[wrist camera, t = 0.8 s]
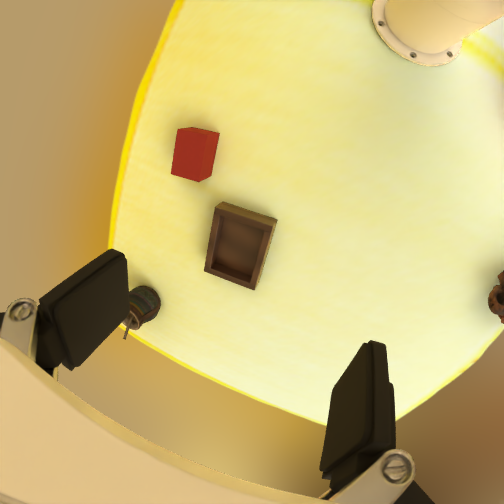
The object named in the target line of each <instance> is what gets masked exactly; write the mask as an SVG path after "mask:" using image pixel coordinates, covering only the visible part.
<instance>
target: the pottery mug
mask: <svg viewBox="0 0 504 504" xmlns="http://www.w3.org/2000/svg"><path fill="white" fill-rule="evenodd" d="M498 279H499V282H500V285H496V286H494V288H493V290H492V291H491V293H490V294H489V297H488V305H489V308H490V310H491V312H492V313H494V314H497V315H498V316H499V317H500V319H501V323H503V324H504V271H503V272H502V273H500V274H499V275H498Z"/></svg>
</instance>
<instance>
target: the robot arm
mask: <svg viewBox="0 0 504 504" xmlns="http://www.w3.org/2000/svg"><path fill="white" fill-rule="evenodd" d="M503 15H504V0H374V2H373V5H372V19H373V23H374V26H375V28H376V30H377V32H378V34H379V35H380V37H381V38H382V40H383V41H384V42H385V43H386V44H387V45H388V46H389V47H390V48H391V49H392V50H393V51H395V52H396V53H397V54H399V55H400V56H402V57H403V58H405V59H407V60H409V61H411V62H414V63H417V64H420V65H425V66H439V65H444V64H446V63H448V62H450V61H452V60H453V59H454V58H455V57H456V56H457V55H458V54H459V52H460V49H461V47H462V40H463V39H464V38H466V37H468V36H469V35H471V34H473V33H474V32H476V31H478V30H480V29H481V28H483V27H485V26H487V25H489V24H490V23H492V22H494V21H496V20H497V19H499V18H501V17H502V16H503ZM379 24H381V25H382V26H379ZM447 54H448V55H449V56H448V55H447ZM410 55H413V58H412V57H411V56H410ZM39 302H40V305H38V306H37V305H36V302H35V301H34V300H32V299H30V298H20V299H17V300H15V301H14V302H12V303H11V304H10V305H9V306H8V308H7V310H6V312H3V313H0V504H435V503H434V502H433V501H432V500H431V499H430V498H429V497H428V496H427V495H426V493H425V492H424V491H423V490H422V489H421V488H420V487H419V486H418V485H417V483H416V482H415V481H414V480H413V479H414V477H415V473H416V465H415V462H414V459H413V458H412V457H411V456H410V454H408V453H407V452H405V451H403V450H400V449H396V433H395V431H396V427H395V401H394V388H393V384H392V383H390V382H389V374H388V362H387V351H386V345H385V344H383V343H379V342H376V341H372V340H370V341H369V342H368V343H363V344H362V346H361V347H360V349H359V351H358V352H357V354H356V355H355V357H354V358H353V360H352V361H351V363H350V364H349V366H348V367H347V369H346V370H345V372H344V373H343V375H342V376H341V377H340V379H339V380H338V382H337V383H336V385H335V386H334V388H333V390H332V394H331V401H330V409H329V415H328V422H327V428H326V435H325V440H324V446H323V452H322V457H321V462H320V471H323V475H322V479H328V480H331V481H330V488H331V489H329V490H328V491H327V492H325V493H324V494H323V495H321V496H320V497H318V498H313V497H309V496H304V495H299V494H295V493H290V492H286V491H282V490H278V489H273V488H270V487H267V486H263V485H259V484H256V483H253V482H249V481H246V480H243V479H239V478H236V477H233V476H230V475H227V474H225V473H222V472H219V471H216V470H213V469H211V468H208V467H206V466H203V465H201V464H198V463H196V462H193V461H191V460H189V459H186V458H184V457H182V456H179V455H177V454H175V453H173V452H171V451H169V450H166V449H164V448H162V447H160V446H158V445H156V444H154V443H152V442H150V441H149V440H146V439H145V438H143V437H141V436H139V435H137V434H136V433H134V432H132V431H130V430H128V429H127V428H125V427H123V426H122V425H120V424H118V423H117V422H115V421H113V420H112V419H110V418H109V417H107V416H105V415H104V414H102V413H101V412H99V411H98V410H96V409H95V408H93V407H92V406H90V405H89V404H87V403H86V402H84V401H83V400H82V399H80V398H79V397H77V396H76V395H75V394H73V393H72V392H71V391H69V390H68V389H67V388H65V387H64V386H63V385H61V384H60V383H59V382H58V366H59V364H60V363H61V362H62V364H63V365H64V366H65V367H66V368H68V369H69V370H71V371H72V370H73V369H74V368H75V367H78V366H80V365H81V364H82V363H83V362H84V361H85V360H86V359H87V358H88V357H89V356H90V355H91V354H92V353H93V352H94V350H95V349H96V348H97V347H98V346H99V345H100V344H101V343H102V342H103V341H104V340H105V339H106V338H107V337H108V336H109V335H110V334H111V333H112V332H113V331H114V330H115V329H116V328H117V327H118V326H119V325H120V324H121V323H122V322H123V321H124V320H125V319H126V318H127V316H128V315H129V312H130V302H129V288H128V270H127V259H126V258H125V255H124V254H123V253H121V252H119V251H117V250H114V249H109V250H107V251H106V252H104V253H103V254H102V255H100V256H98V257H97V258H96V259H94V260H93V261H91V262H90V263H89V264H87V265H85V266H84V267H83V268H81V269H80V270H78V271H77V272H75V273H74V274H73V275H71V276H70V277H68V278H67V279H66V280H64V281H63V282H62V283H60V284H59V285H57V286H56V287H55V288H53V289H52V290H51V291H50V292H48V293H47V294H45V295H44V296H43V297H41V298H40V299H39Z"/></svg>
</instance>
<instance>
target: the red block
mask: <svg viewBox="0 0 504 504" xmlns="http://www.w3.org/2000/svg"><path fill="white" fill-rule="evenodd" d="M219 134H220V133H216V132H212V131H207V130H203V129H198V128H193V127H190V128H182V129H178V130H177V136H176V142H175V149H174V155H173V162H172V169H171V174H172V175H176V176H179V177H183V178H186V179H190V180H193V181H197V182H200V181H202V180H204V179H206V178H208V177H210V176H211V174H212V169H213V164H214V159H215V153H216V149H217V144H218V139H219Z"/></svg>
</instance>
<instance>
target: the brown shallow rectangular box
mask: <svg viewBox="0 0 504 504" xmlns="http://www.w3.org/2000/svg"><path fill="white" fill-rule="evenodd" d="M276 223H277V220H276V219H274V218H271V217H268V216H265V215H262V214H259V213H256V212H253V211H250V210H247V209H244V208H241V207H238V206H235V205H232V204H228V203H225V202H222V203H220V204H219V205H217V206H216V207H215V211H214V216H213V222H212V227H211V233H210V238H209V244H208V250H207V256H206V262H205V268H204V271H205V272H208V273H210V274H213V275H215V276H218V277H220V278H223V279H225V280H228V281H231V282H233V283H236V284H238V285H241V286H244V287H246V288H249V289H252V290H255V288H256V286H257V284H258V283H259V280H260V277H261V274H262V270H263V267H264V264H265V260H266V257H267V254H268V250H269V247H270V244H271V240H272V237H273V234H274V230H275V227H276Z"/></svg>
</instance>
